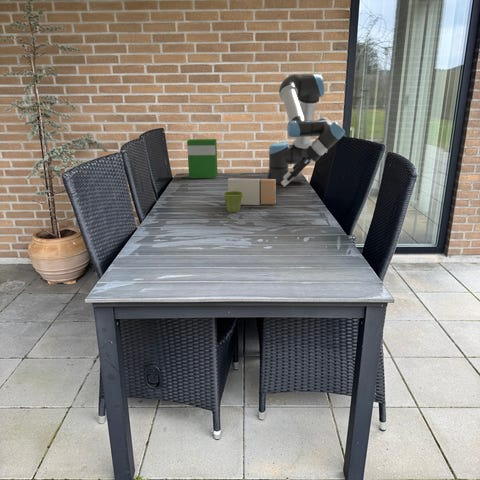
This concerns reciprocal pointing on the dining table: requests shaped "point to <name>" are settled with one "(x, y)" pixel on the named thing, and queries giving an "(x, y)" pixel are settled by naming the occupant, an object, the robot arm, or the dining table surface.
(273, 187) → the tan rectangular block
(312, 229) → the dining table surface
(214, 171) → the hardback book
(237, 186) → the block
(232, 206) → the plant pot
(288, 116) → the robot arm
